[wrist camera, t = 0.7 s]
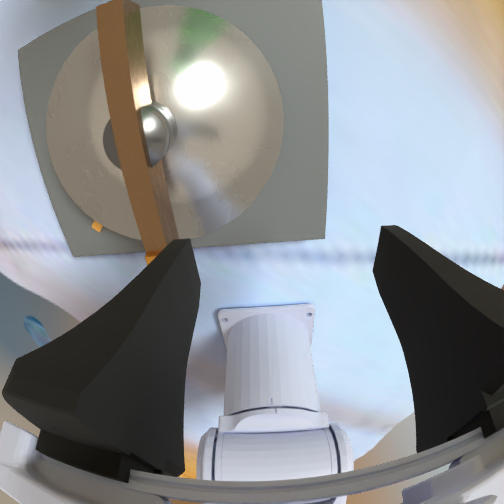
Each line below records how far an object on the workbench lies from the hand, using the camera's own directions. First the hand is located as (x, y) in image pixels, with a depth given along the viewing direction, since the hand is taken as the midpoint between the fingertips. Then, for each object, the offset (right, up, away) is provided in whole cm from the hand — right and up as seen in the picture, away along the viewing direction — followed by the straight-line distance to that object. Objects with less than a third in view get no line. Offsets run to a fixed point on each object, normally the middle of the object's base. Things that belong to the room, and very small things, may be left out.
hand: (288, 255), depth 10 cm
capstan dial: (-6, +7, +3) cm, 10 cm away
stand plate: (-6, +8, +5) cm, 11 cm away
